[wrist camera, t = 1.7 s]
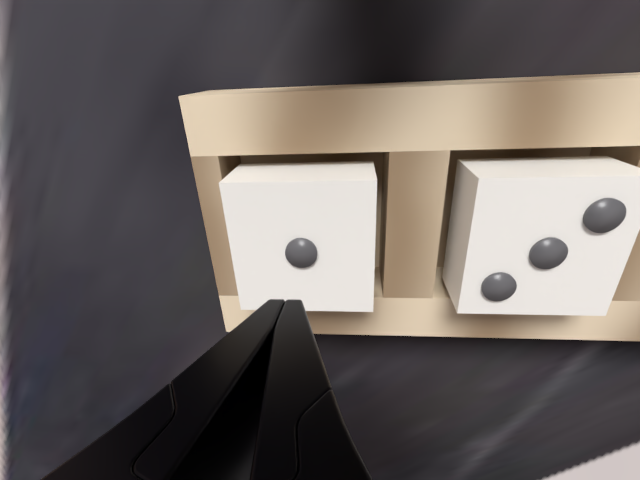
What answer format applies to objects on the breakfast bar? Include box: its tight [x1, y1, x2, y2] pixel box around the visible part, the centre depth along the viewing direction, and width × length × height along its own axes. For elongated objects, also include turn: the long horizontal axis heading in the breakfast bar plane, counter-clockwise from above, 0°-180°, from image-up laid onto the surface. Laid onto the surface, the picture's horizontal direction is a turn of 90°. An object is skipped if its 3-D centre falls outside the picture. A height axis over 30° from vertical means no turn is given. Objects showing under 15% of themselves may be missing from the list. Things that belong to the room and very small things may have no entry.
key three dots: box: [442, 156, 640, 316], centre depth 12 cm, size 5×5×2 cm
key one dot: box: [219, 161, 377, 312], centre depth 13 cm, size 5×5×2 cm
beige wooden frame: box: [179, 72, 640, 341], centre depth 14 cm, size 24×10×3 cm, turn 92°
